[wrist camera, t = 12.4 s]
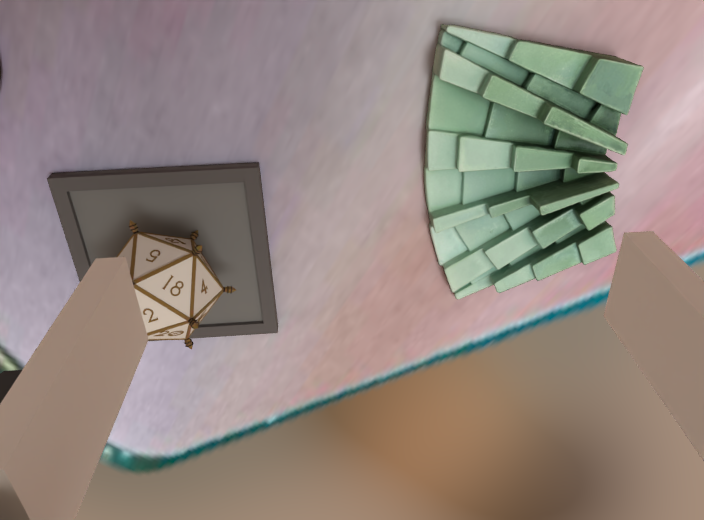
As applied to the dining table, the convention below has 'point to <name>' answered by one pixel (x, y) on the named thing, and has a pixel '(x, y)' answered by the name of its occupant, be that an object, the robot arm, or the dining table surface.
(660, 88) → the dining table surface
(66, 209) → the mat
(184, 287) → the game die
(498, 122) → the green curved brick section
